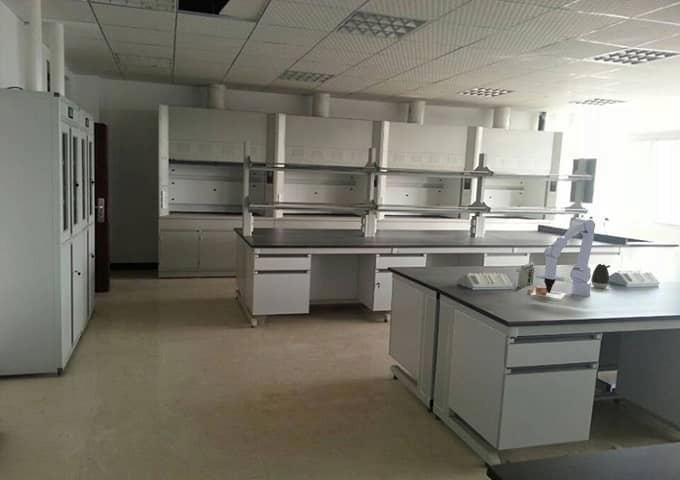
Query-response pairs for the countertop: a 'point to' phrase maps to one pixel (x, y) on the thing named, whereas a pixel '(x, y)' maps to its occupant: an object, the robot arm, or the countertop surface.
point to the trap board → (532, 292)
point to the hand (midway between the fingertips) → (548, 292)
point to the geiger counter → (526, 275)
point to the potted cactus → (600, 276)
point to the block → (541, 290)
